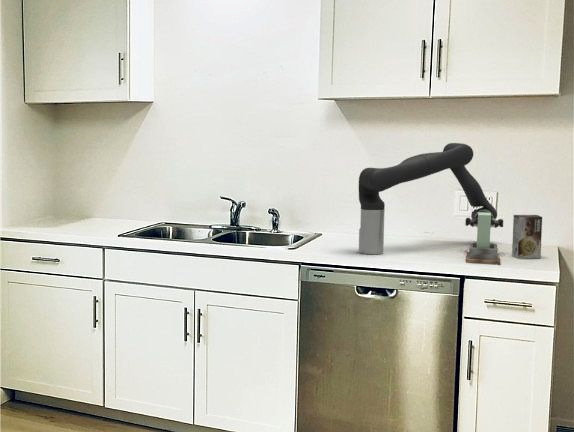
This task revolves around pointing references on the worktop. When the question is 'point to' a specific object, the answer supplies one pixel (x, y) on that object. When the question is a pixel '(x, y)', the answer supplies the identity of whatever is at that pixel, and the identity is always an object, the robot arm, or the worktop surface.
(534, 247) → the coffee box
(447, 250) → the worktop surface
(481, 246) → the block
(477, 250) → the gray frame wooden base
